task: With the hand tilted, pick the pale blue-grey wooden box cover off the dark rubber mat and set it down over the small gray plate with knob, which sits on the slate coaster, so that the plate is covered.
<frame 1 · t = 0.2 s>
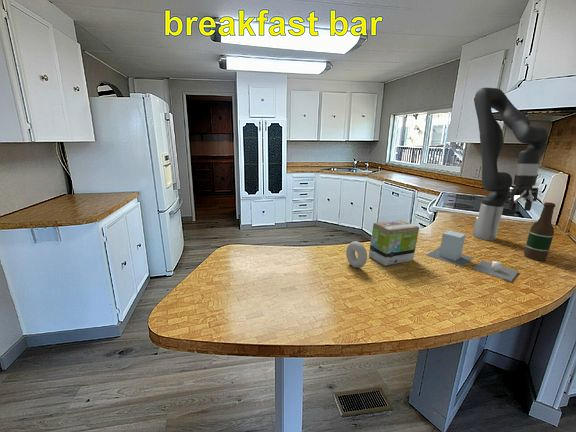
hand: (519, 210, 128), 18 cm above the table, tool pointing down, fingers open, 8 cm apart
mat: (449, 257, 119), on the table
beer bottle: (534, 257, 122), on the table
tea box: (390, 259, 116), on the table
cover: (449, 256, 119), resting on mat
gray plate with knob: (495, 271, 108), on the table
donut: (354, 267, 107), on the table
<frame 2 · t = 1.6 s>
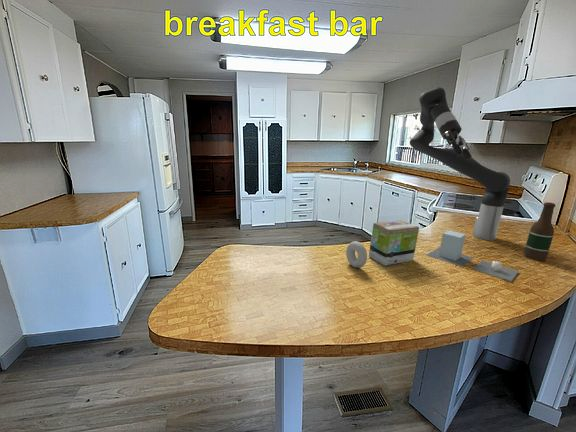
hand: (464, 156, 116), 41 cm above the table, tool tilted 40°, fingers open, 8 cm apart
nothing on the table moved.
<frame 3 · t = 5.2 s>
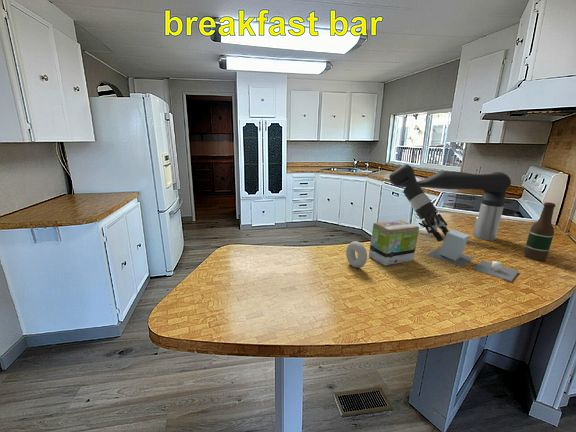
hand: (445, 238, 119), 8 cm above the table, tool tilted 45°, fingers open, 8 cm apart
cover: (450, 255, 119), point 1 cm above the table, tilted 7°, touching gripper, mat
everything else where it was.
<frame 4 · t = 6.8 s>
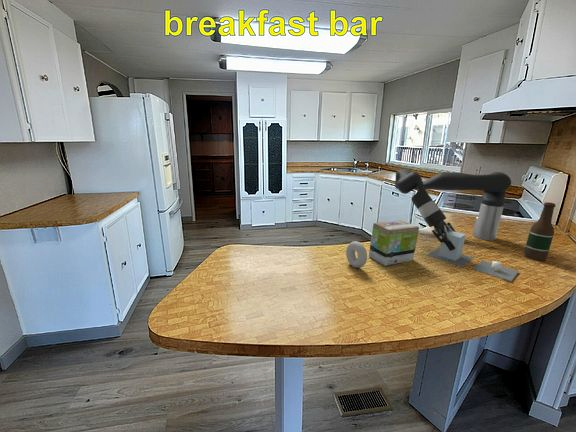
hand: (456, 247, 117), 5 cm above the table, tool tilted 45°, fingers closed on cover, 6 cm apart
cover: (449, 256, 119), resting on mat, touching gripper
everything else where it was.
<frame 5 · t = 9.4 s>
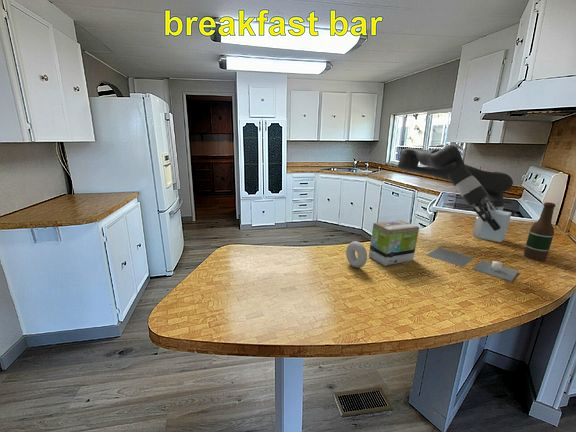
hand: (500, 227, 104), 17 cm above the table, tool tilted 45°, fingers closed on cover, 6 cm apart
cover: (492, 237, 106), point 13 cm above the table, touching gripper
everything else where it was.
when the fingers open (6 cm above the table, at t = 12.3 s): cover drops 1 cm, resting on gray plate with knob.
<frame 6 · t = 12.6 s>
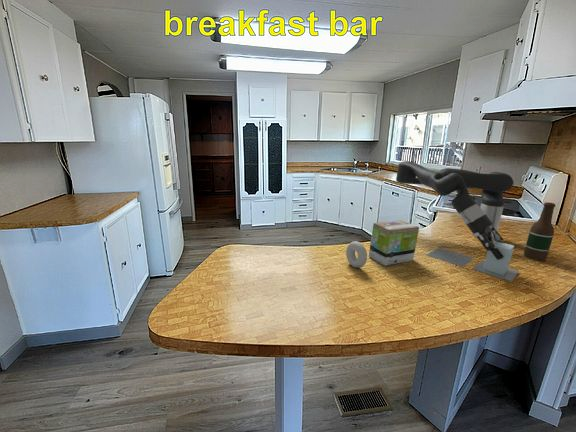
hand: (503, 255, 105), 7 cm above the table, tool tilted 45°, fingers open, 8 cm apart
cover: (495, 269, 108), point 1 cm above the table, touching gray plate with knob
everything else where it was.
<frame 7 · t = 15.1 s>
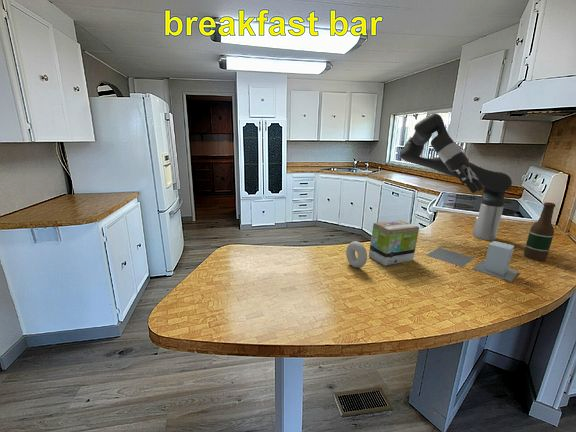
hand: (478, 190, 109), 29 cm above the table, tool tilted 45°, fingers open, 8 cm apart
nothing on the table moved.
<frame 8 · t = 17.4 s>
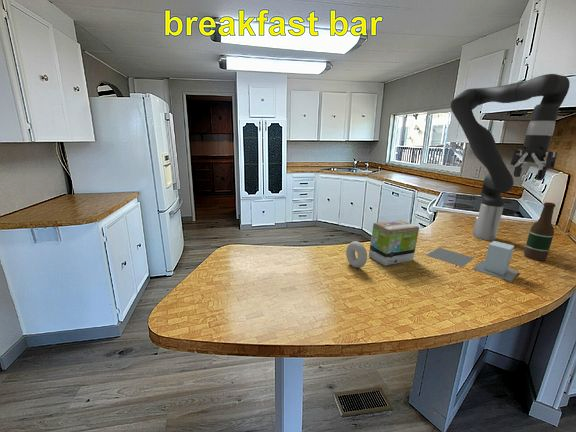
hand: (527, 178, 109), 34 cm above the table, tool pointing down, fingers open, 8 cm apart
nothing on the table moved.
at the end: cover 0.1 cm from the gray plate with knob (horizontally); cover point 0.6 cm above the table; cover tilted 0° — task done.
